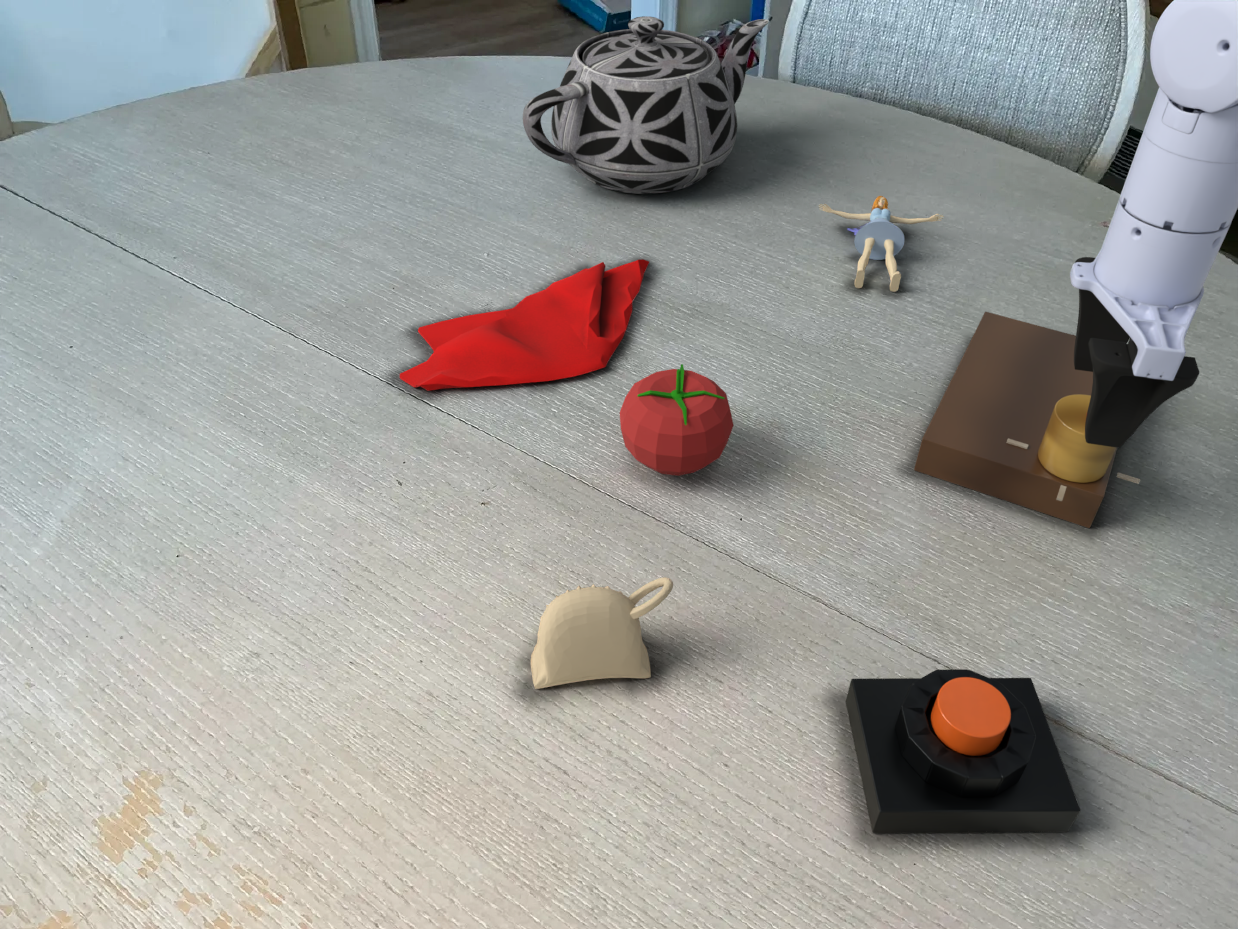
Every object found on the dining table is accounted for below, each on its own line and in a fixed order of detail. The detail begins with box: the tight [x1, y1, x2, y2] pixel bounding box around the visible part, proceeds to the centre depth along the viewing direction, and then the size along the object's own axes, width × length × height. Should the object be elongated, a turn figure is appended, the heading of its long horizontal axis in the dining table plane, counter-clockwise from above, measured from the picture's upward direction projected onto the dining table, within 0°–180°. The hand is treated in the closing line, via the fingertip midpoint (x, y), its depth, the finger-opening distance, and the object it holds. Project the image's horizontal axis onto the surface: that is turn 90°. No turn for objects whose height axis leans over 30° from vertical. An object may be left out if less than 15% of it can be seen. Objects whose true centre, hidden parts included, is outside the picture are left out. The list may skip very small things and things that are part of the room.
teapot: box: [522, 15, 769, 195], centre depth 103 cm, size 19×31×15 cm, turn 127°
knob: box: [1038, 394, 1116, 483], centre depth 67 cm, size 4×4×4 cm
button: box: [931, 677, 1011, 756], centre depth 51 cm, size 4×4×2 cm
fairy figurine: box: [818, 195, 945, 293], centre depth 92 cm, size 12×5×12 cm
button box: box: [845, 668, 1081, 834], centre depth 53 cm, size 10×8×4 cm
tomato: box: [619, 363, 735, 477], centre depth 70 cm, size 8×8×8 cm
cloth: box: [399, 258, 650, 392], centre depth 83 cm, size 26×14×2 cm, turn 124°
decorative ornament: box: [530, 576, 674, 690], centre depth 58 cm, size 4×8×5 cm, turn 95°
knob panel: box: [913, 311, 1141, 529], centre depth 74 cm, size 14×20×3 cm
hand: (1096, 403), depth 64 cm, fingers open, 7 cm apart
